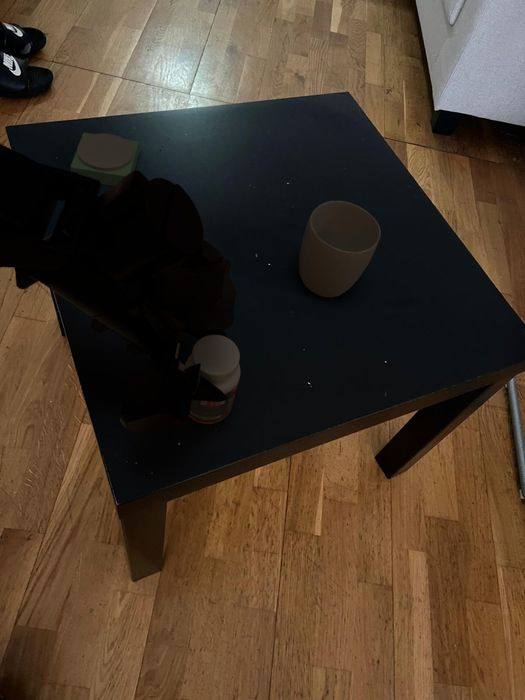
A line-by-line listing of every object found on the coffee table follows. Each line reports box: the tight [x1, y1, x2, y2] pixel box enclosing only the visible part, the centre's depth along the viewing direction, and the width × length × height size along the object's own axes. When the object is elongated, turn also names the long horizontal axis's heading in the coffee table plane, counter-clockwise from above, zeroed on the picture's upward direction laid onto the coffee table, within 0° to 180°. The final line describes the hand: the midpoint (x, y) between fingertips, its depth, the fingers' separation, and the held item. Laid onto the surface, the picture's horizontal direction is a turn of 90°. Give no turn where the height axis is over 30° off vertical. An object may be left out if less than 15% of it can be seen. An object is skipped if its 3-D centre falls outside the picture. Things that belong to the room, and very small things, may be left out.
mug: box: [298, 200, 381, 299], centre depth 70 cm, size 13×9×10 cm
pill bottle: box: [184, 335, 241, 425], centre depth 56 cm, size 6×6×10 cm
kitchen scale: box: [69, 132, 140, 187], centre depth 77 cm, size 8×8×3 cm
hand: (226, 374), depth 55 cm, fingers closed on pill bottle, 6 cm apart
